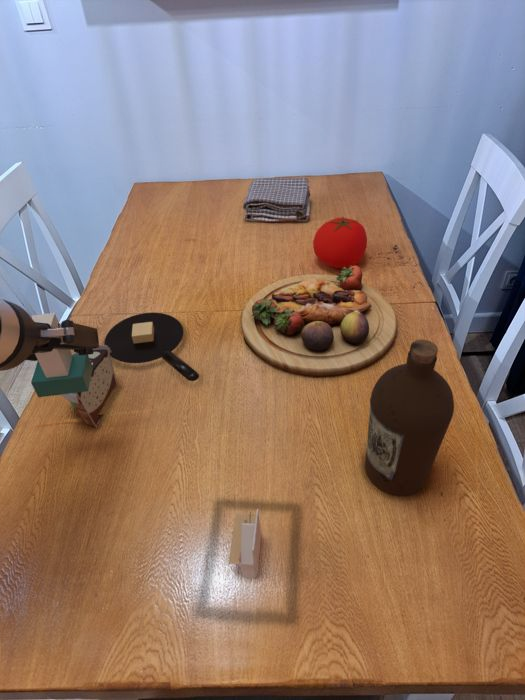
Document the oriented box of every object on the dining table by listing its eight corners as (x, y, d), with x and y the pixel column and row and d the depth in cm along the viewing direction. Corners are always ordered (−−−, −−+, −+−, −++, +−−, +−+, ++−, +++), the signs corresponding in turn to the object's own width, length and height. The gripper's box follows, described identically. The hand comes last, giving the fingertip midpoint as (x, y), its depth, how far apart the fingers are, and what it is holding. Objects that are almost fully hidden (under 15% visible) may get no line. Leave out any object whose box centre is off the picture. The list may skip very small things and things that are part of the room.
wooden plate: (325, 266, 119) (326, 236, 113) (429, 331, 99) (437, 298, 93) (212, 317, 106) (208, 285, 100) (307, 404, 86) (308, 370, 80)
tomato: (374, 258, 121) (379, 217, 113) (345, 282, 113) (349, 240, 106) (333, 244, 127) (336, 204, 119) (303, 266, 119) (304, 225, 112)
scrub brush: (88, 391, 70) (64, 331, 62) (38, 397, 69) (8, 338, 62) (92, 367, 73) (70, 308, 66) (45, 373, 73) (17, 314, 66)
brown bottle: (402, 433, 80) (431, 311, 64) (446, 483, 73) (491, 360, 56) (347, 457, 77) (361, 335, 60) (387, 512, 70) (416, 390, 53)
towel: (251, 200, 148) (249, 174, 143) (311, 201, 146) (312, 175, 141) (243, 224, 137) (241, 197, 132) (308, 225, 135) (309, 198, 130)
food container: (92, 379, 93) (76, 339, 86) (122, 383, 92) (108, 343, 85) (59, 430, 84) (39, 389, 77) (92, 435, 83) (74, 394, 76)
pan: (91, 342, 101) (88, 333, 100) (156, 308, 109) (154, 300, 107) (161, 408, 87) (159, 399, 85) (230, 364, 94) (229, 354, 93)
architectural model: (230, 577, 64) (225, 550, 59) (237, 527, 69) (233, 498, 64) (256, 579, 64) (253, 551, 59) (261, 529, 69) (259, 500, 64)
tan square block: (153, 341, 98) (151, 333, 97) (133, 343, 98) (131, 336, 97) (154, 328, 101) (152, 321, 100) (134, 331, 101) (132, 323, 100)
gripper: (-118, 382, 48) (-5, 382, 71) (89, 357, 49) (134, 365, 72) (-124, 306, 48) (-10, 331, 71) (81, 284, 50) (129, 315, 72)
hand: (63, 348), depth 71 cm, fingers closed on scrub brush, 7 cm apart
